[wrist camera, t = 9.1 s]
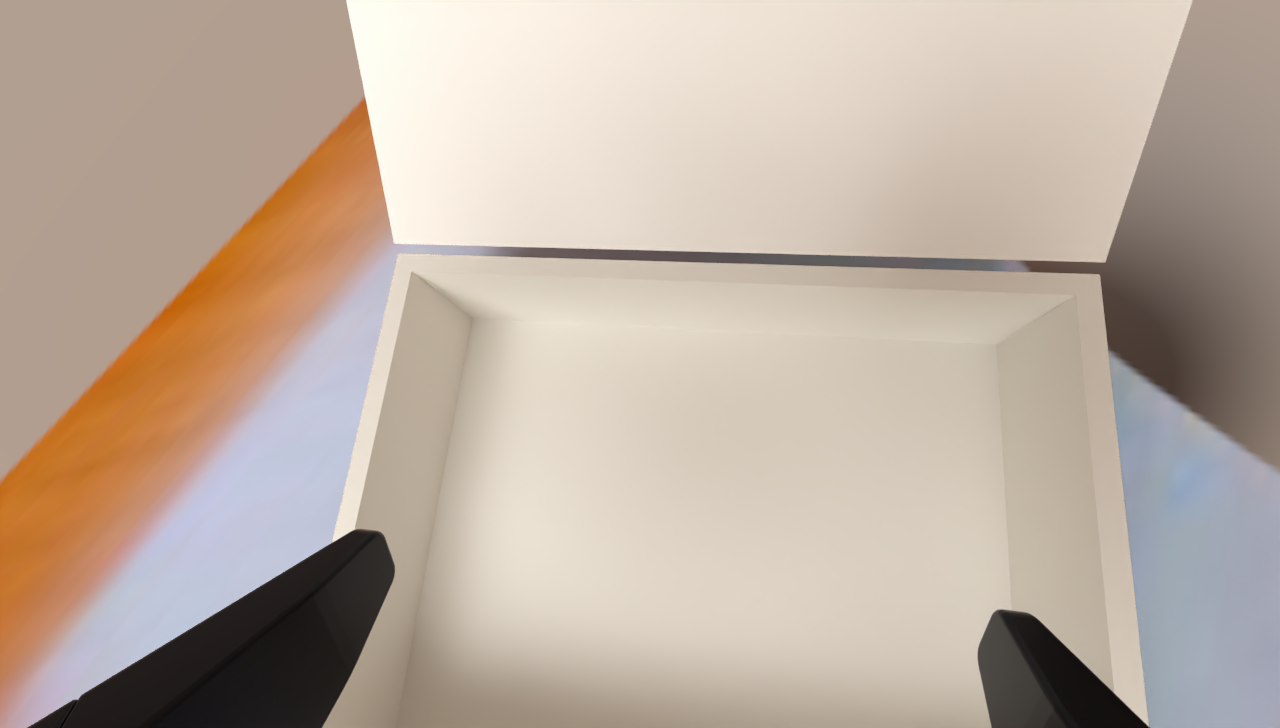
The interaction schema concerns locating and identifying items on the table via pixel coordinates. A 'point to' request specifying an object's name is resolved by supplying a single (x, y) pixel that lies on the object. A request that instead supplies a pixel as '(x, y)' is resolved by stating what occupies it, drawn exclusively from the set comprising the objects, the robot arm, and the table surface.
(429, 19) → the box flap
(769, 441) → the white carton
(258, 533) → the table surface
